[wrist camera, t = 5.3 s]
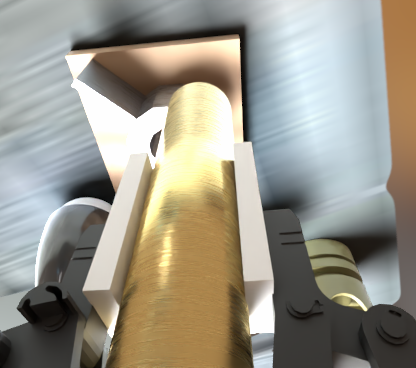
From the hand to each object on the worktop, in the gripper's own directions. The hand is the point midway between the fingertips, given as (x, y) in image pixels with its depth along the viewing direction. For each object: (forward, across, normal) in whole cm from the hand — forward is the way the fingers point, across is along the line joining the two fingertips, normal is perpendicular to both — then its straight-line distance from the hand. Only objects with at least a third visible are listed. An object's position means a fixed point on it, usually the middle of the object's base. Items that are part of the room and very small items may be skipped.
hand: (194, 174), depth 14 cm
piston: (+22, +13, -37) cm, 45 cm away
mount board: (+22, -5, -10) cm, 25 cm away
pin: (+6, 0, 0) cm, 6 cm away
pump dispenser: (+22, -18, -22) cm, 36 cm away
